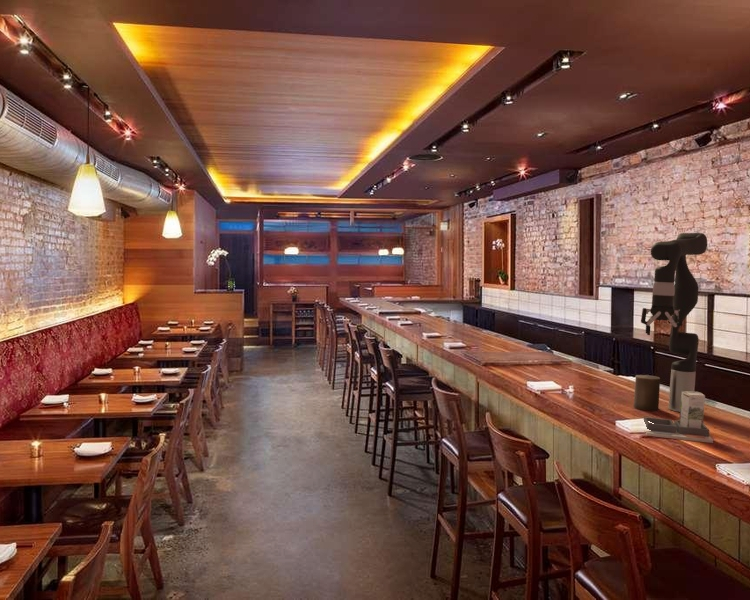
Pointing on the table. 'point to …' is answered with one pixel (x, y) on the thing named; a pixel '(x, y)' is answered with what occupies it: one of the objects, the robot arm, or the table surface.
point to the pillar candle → (647, 392)
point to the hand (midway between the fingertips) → (660, 335)
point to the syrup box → (692, 409)
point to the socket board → (676, 430)
